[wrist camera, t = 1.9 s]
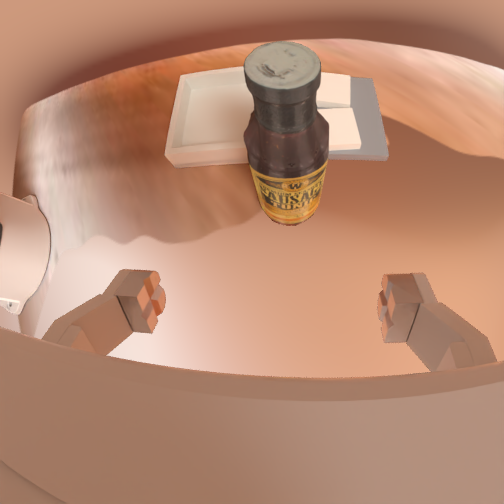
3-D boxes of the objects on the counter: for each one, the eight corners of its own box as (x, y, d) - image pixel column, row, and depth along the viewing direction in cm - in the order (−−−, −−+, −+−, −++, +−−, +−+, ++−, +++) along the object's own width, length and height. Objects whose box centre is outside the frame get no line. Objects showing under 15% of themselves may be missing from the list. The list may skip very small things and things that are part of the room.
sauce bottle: (265, 233, 32) (212, 121, 13) (258, 179, 34) (207, 42, 15) (327, 223, 32) (352, 99, 12) (316, 170, 33) (319, 24, 14)
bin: (175, 168, 36) (164, 154, 32) (189, 90, 38) (180, 75, 35) (271, 162, 34) (268, 146, 31) (272, 82, 36) (269, 64, 33)
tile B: (307, 105, 33) (307, 99, 32) (310, 77, 34) (310, 71, 33) (349, 110, 33) (350, 104, 31) (349, 81, 33) (350, 75, 32)
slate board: (300, 159, 33) (300, 154, 32) (296, 82, 36) (296, 76, 35) (386, 160, 32) (388, 155, 31) (370, 84, 34) (372, 78, 33)
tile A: (315, 151, 32) (316, 146, 31) (309, 116, 33) (309, 109, 32) (359, 149, 31) (361, 143, 30) (351, 113, 32) (352, 107, 31)
